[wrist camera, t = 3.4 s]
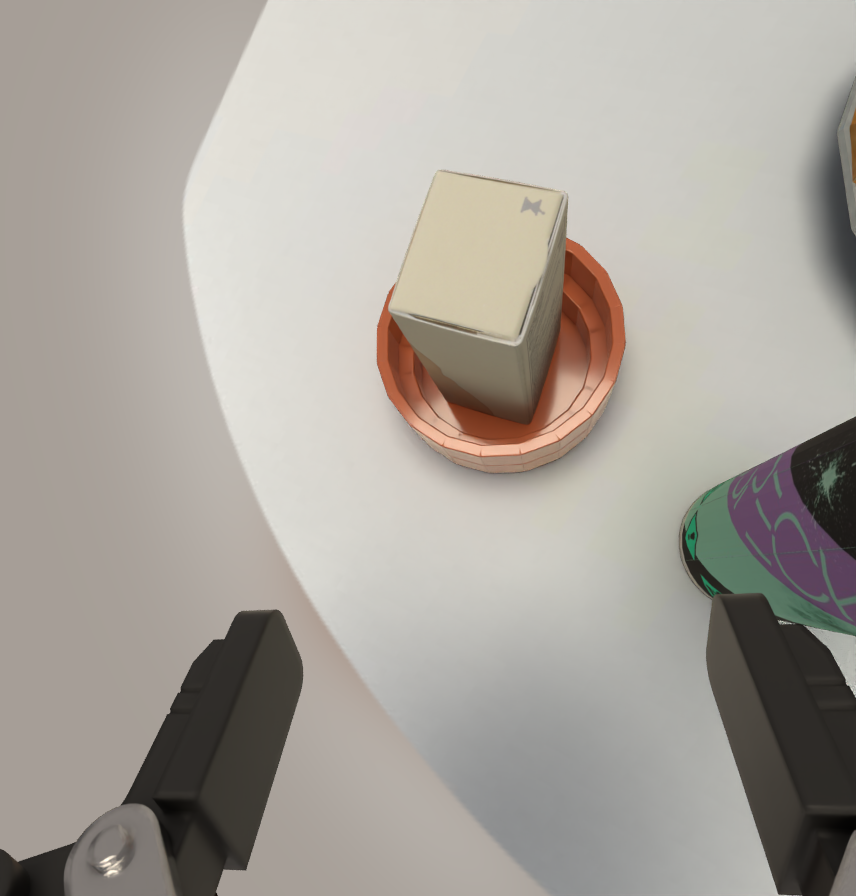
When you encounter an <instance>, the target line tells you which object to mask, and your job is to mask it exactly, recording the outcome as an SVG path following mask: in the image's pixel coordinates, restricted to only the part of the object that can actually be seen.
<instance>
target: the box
mask: <svg viewBox="0 0 856 896" xmlns="http://www.w3.org/2000/svg"><path fill="white" fill-rule="evenodd" d="M567 209H568V194H567V193H566V192H565V191H562V190H555V189H550V188H545V187H540V186H535V185H530V184H525V183H520V182H514V181H508V180H503V179H498V178H492V177H485V176H480V175H474V174H466V173H459V172H453V171H448V170H438V171H437V172H436V173H435V175H434V177H433V180H432V183H431V185H430V188H429V191H428V193H427V196H426V199H425V201H424V204H423V206H422V209H421V212H420V215H419V217H418V220H417V223H416V225H415V228H414V231H413V234H412V237H411V240H410V243H409V246H408V249H407V251H406V254H405V257H404V261H403V264H402V266H401V269H400V272H399V275H398V278H397V281H396V284H395V288H394V291H393V294H392V297H391V300H390V303H389V306H388V311H389V313H390V314H391V316H392V317H393V319H394V320H395V322H396V323H397V325H398V326H399V328H400V330H401V331H402V333H403V334H404V336H405V337H406V339H407V341H408V342H409V344H410V345H411V347H412V348H413V350H414V351H415V353H416V355H417V356H418V358H419V360H420V361H421V363H422V364H423V366H424V367H425V369H426V370H427V372H428V374H429V375H430V377H431V378H432V380H433V381H434V383H435V384H436V386H437V388H438V389H439V391H440V392H441V394H442V395H443V397H444V398H445V400H446V401H448V402H450V403H454V404H457V405H460V406H463V407H466V408H469V409H472V410H475V411H479V412H482V413H485V414H489V415H492V416H496V417H499V418H503V419H506V420H510V421H514V422H518V423H521V424H526V425H527V424H530V423H531V421H532V419H533V416H534V413H535V411H536V408H537V405H538V402H539V399H540V396H541V393H542V390H543V387H544V384H545V381H546V377H547V374H548V371H549V367H550V364H551V361H552V357H553V354H554V351H555V347H556V343H557V340H558V336H559V333H560V329H561V311H562V296H563V282H564V265H565V250H566V228H567Z"/></svg>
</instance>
